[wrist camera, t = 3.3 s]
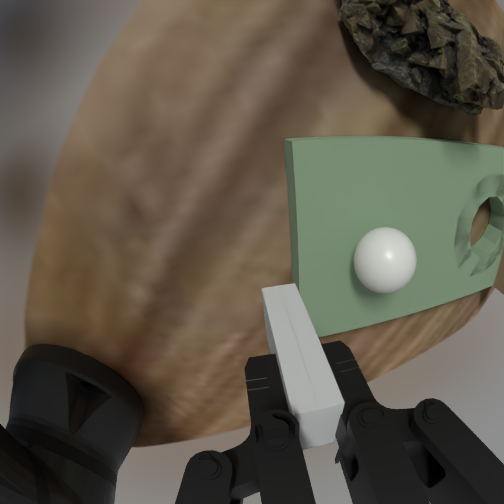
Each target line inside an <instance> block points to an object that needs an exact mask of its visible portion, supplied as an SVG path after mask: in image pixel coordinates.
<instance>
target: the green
mask: <svg viewBox="0 0 504 504" xmlns="http://www.w3.org/2000/svg"><path fill="white" fill-rule="evenodd" d="M284 148H285V160H286V173H287V187H288V202H289V219H290V237H291V258H292V282H293V283H295V285H296V287H297V289H298V292H299V294H300V296H301V298H302V301H303V303H304V305H305V308H306V310H307V313H308V315H309V317H310V320H311V322H312V324H313V327H314V329H315V331H316V334H317V336H318V337H322V336H327V335H331V334H336V333H340V332H345V331H349V330H353V329H357V328H361V327H365V326H369V325H373V324H377V323H381V322H384V321H388V320H392V319H395V318H399V317H402V316H406V315H409V314H412V313H416V312H419V311H422V310H425V309H429V308H432V307H435V306H438V305H441V304H444V303H447V302H450V301H453V300H456V299H458V298H461V297H464V296H467V295H470V294H472V293H475V292H478V291H480V290H483V289H485V288H488V287H490V286H494V287H495V288H497V289H498V290H499V291H500V292H501V293H503V294H504V147H499V146H493V145H487V144H479V143H472V142H464V141H454V140H444V139H432V138H417V137H396V136H329V137H306V138H290V139H284ZM488 197H489V201H490V207H491V212H490V218H489V224H488V226H487V228H486V230H485V232H484V234H483V236H482V237H481V238H480V239H479V240H478V241H477V242H476V243H475V244H474V245H470V240H469V236H470V231H471V225H472V221H473V219H474V217H475V215H476V212H477V210H478V208H479V206H480V205H481V204H482V203H483V202H484V201H485V200H486V199H487V198H488ZM380 227H390V228H394V229H397V230H399V231H401V232H402V233H404V234H405V235H406V236H407V237H408V238H409V239H410V241H411V242H412V244H413V246H414V248H415V252H416V258H417V263H416V269H415V272H414V274H413V277H412V278H411V280H410V281H409V282H408V283H407V284H406V285H405V286H404V287H403V288H402V289H400V290H398V291H396V292H393V293H386V294H382V293H377V292H374V291H372V290H370V289H368V288H367V287H365V286H364V285H363V284H362V283H361V281H360V280H359V278H358V277H357V275H356V272H355V269H354V252H355V249H356V246H357V244H358V243H359V241H360V240H361V238H362V237H363V236H364V235H365V234H367V233H368V232H370V231H371V230H373V229H376V228H380Z"/></svg>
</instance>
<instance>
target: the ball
mask: <svg viewBox="0 0 504 504" xmlns="http://www.w3.org/2000/svg"><path fill="white" fill-rule="evenodd" d="M416 263H417V258H416V252H415V248H414V246H413V244H412V242H411V241H410V239H409V238H408V237H407V236H406V235H405V234H404V233H402V232H401V231H399V230H397V229H394V228H390V227H380V228H376V229H373V230H371V231H370V232H368V233H367V234H365V235H364V236H363V237H362V238H361V240H360V241H359V243H358V244H357V246H356V249H355V252H354V269H355V272H356V275H357V277H358V278H359V280H360V281H361V283H362V284H363V285H364V286H365V287H367V288H368V289H370V290H372V291H374V292H377V293H382V294H386V293H393V292H396V291H398V290H400V289H402V288H403V287H404V286H405V285H406V284H407V283H408V282H409V281H410V280H411V278H412V277H413V274H414V272H415V269H416Z"/></svg>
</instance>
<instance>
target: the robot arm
mask: <svg viewBox="0 0 504 504" xmlns="http://www.w3.org/2000/svg"><path fill="white" fill-rule="evenodd" d="M262 296H263V306H264V316H265V326H266V335H267V339H268V344H269V348H270V353H271V354H270V355H263V356H257V357H250V358H249V359H248V361H247V364H246V366H245V376H246V384H247V392H248V401H249V409H250V416H251V430H250V435H249V436H248V438H247V439H246V440H245V441H244V442H243V443H242V444H240V445H238V446H236V447H234V448H232V449H229V450H227V451H224V452H221V453H220V452H217V451H213V450H211V451H202V452H199V453H197V454H195V455H194V456H193V457H192V458H190V460H189V462H188V463H187V466H186V469H185V472H184V475H183V479H182V482H181V485H180V489H179V492H178V495H177V499H176V502H175V504H243V498H245V497H247V496H250V495H252V494H254V493H257V492H260V495H261V502H262V504H316V503H315V499H314V495H313V491H312V487H311V483H310V479H309V475H308V471H307V467H306V463H305V459H304V455H303V451H302V450H304V449H308V448H313V447H318V446H321V445H326V444H330V443H334V441H335V437H336V439H337V442H338V445H339V449H338V452H337V455H336V458H335V463H338V462H339V460H340V463H341V467H342V470H343V473H344V476H345V479H346V483H347V486H348V489H349V492H350V496H351V499H352V502H353V504H430V503H431V504H504V464H503V463H502V462H501V461H500V460H499V459H498V458H497V457H496V456H495V455H494V454H493V453H492V451H490V449H489V448H488V447H487V446H486V445H485V444H484V443H483V442H482V441H481V440H480V439H479V438H478V437H477V436H476V435H475V434H474V433H473V432H472V431H471V430H470V429H469V428H468V427H467V426H466V425H465V423H464V422H463V421H462V420H461V419H460V418H459V417H458V416H456V414H454V412H453V411H452V410H451V409H450V408H449V407H448V406H447V405H445V403H443V402H442V401H440V400H437V399H434V398H432V399H425V400H423V401H421V402H420V403H419V404H418V405H417V406H416V407H415V408H410V409H390V408H386V407H384V406H382V405H380V404H379V403H378V402H377V401H376V400H375V398H374V396H373V394H372V392H371V390H370V388H369V386H368V384H367V382H366V380H365V378H364V376H363V374H362V372H361V370H360V369H359V366H358V364H357V362H356V360H355V358H354V356H353V354H352V352H351V350H350V348H349V347H348V346H346V345H345V344H344V343H343V342H341V341H335V342H330V343H326V344H321V343H320V341H319V339H318V336H317V334H316V331H315V329H314V327H313V324H312V322H311V320H310V317H309V315H308V313H307V310H306V308H305V305H304V303H303V301H302V298H301V296H300V294H299V292H298V289H297V287H296V285H295V283H293V284H287V285H280V286H274V287H267V288H262ZM142 419H143V405H142V402H141V400H140V398H139V397H138V395H137V394H136V392H135V391H134V390H133V389H132V387H131V386H130V385H129V384H128V383H127V382H126V381H124V380H123V379H122V378H121V377H120V376H119V375H117V374H116V373H115V372H113V371H112V370H110V369H109V368H107V367H106V366H104V365H103V364H101V363H99V362H97V361H96V360H94V359H92V358H90V357H88V356H86V355H84V354H81V353H79V352H76V351H74V350H71V349H68V348H64V347H61V346H56V345H49V344H39V345H33V346H31V347H29V348H27V349H26V350H25V351H24V352H23V353H22V355H21V357H20V359H19V360H18V362H17V364H16V366H15V368H14V372H13V388H12V394H11V402H10V413H9V421H8V423H7V426H6V429H5V428H4V427H3V426H2V425H1V424H0V504H114V501H115V490H116V481H117V473H118V470H119V468H120V466H121V464H122V463H123V461H124V459H125V458H126V456H127V454H128V452H129V451H130V449H131V447H132V445H133V443H134V442H135V440H136V438H137V437H138V435H139V433H140V430H141V426H142ZM429 502H430V503H429Z"/></svg>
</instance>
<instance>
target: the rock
mask: <svg viewBox="0 0 504 504" xmlns="http://www.w3.org/2000/svg"><path fill="white" fill-rule="evenodd" d="M337 13H338V14H339V16H340V17H341V19H342V21H343V22H344V24H345V26H346V28H347V29H348V31H349V33H350V34H351V35H352V36H353V38H354V42H355V43H356V44H357V46H358V48H359V50H360V51H361V53H362V54H363V55H365V56H366V57H367V59H368V63H369V65H370V66H371V67H372V68H373V69H374V70H376V71H379V72H382V73H385V74H388V75H389V76H390V77H391V78H392V79H393V81H394V82H396V83H397V84H398V85H400V86H401V87H403V88H410V89H412V90H414V91H416V92H418V93H420V94H422V95H424V96H427V97H429V98H430V99H432V100H433V101H435V102H437V103H440V104H443V105H448V106H450V107H451V109H452V110H454V111H461V112H462V111H463V112H465V113H467V114H469V115H478V114H480V113H481V111H482V109H483V108H491V109H496V110H498V109H502V107H503V105H504V73H503V65H504V56H503V53H502V47H501V46H500V45H499V44H498V43H496V42H495V41H494V40H493V39H491V38H490V37H484V36H482V35H480V34H479V33H478V32H477V30H476V28H475V26H474V25H473V24H472V23H471V22H470V21H469V19H468V18H467V17H466V16H465V15H464V14H463V13H461V12H458V11H456V10H455V9H454V7H453V6H450V3H449V2H448V0H342V6H341V8H340V9H339V10H338V12H337Z"/></svg>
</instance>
